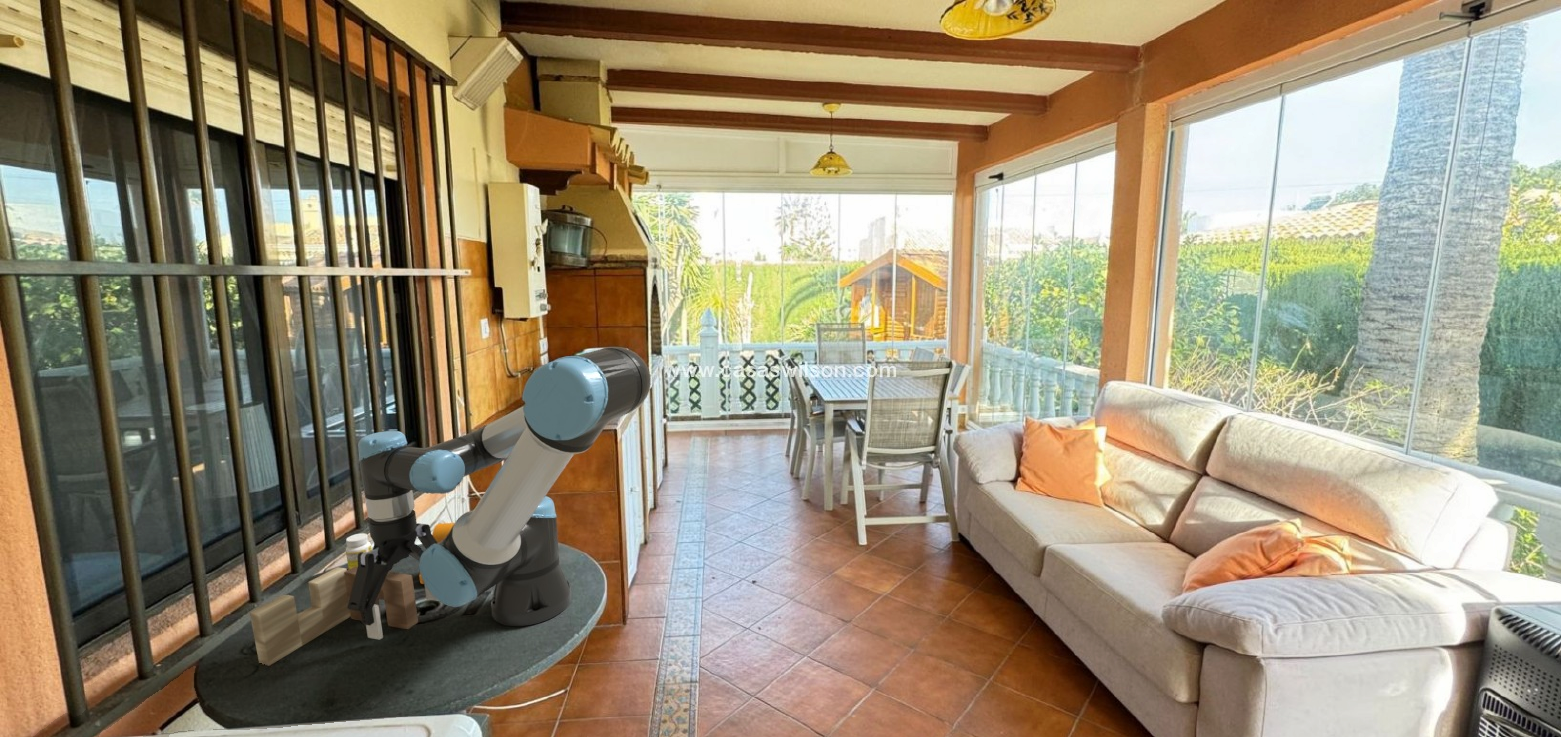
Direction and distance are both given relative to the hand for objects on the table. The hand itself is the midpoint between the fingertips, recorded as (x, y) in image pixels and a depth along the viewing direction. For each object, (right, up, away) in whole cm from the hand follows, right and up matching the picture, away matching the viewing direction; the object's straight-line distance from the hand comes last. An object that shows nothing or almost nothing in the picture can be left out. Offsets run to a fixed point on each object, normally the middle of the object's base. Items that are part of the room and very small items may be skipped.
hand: (405, 617), depth 119 cm
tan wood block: (-5, -1, +2) cm, 6 cm away
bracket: (-2, +2, +19) cm, 20 cm away
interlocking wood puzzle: (-16, -2, -3) cm, 17 cm away
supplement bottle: (-23, +2, +21) cm, 31 cm away
